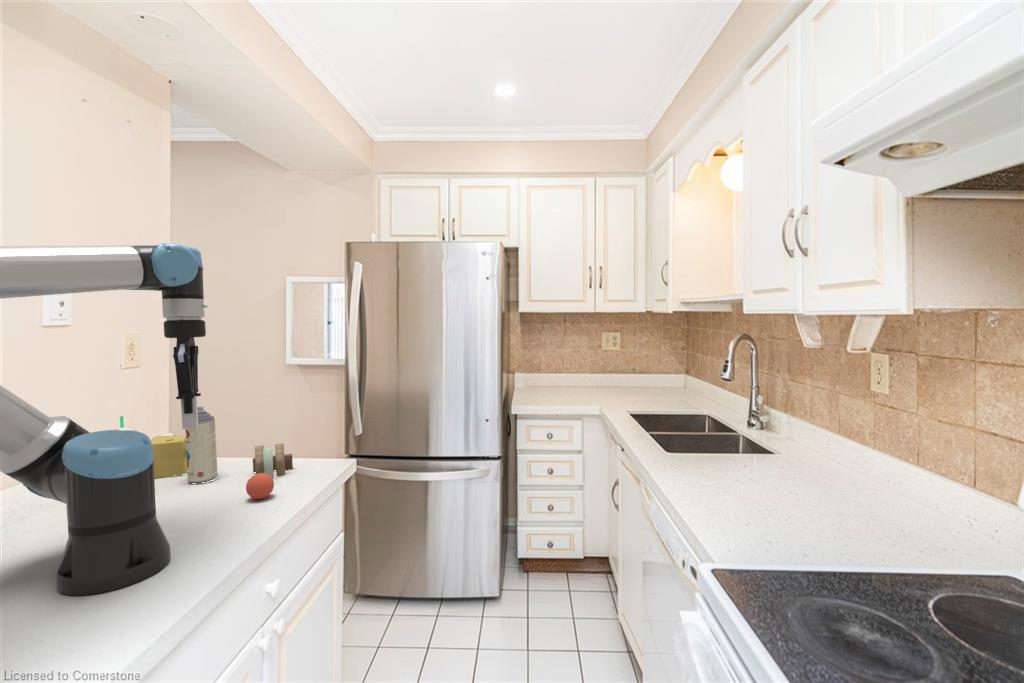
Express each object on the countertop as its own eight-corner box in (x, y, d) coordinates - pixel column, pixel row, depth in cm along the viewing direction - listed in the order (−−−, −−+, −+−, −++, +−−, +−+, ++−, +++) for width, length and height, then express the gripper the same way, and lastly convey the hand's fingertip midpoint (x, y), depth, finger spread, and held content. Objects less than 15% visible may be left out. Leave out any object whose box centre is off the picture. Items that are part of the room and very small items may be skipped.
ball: (272, 500, 117) (271, 475, 116) (244, 504, 115) (243, 479, 114) (275, 492, 122) (274, 468, 122) (248, 496, 120) (247, 471, 120)
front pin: (273, 480, 132) (271, 449, 132) (264, 481, 131) (262, 449, 131) (274, 478, 134) (272, 447, 134) (265, 479, 133) (263, 448, 133)
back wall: (292, 469, 142) (291, 455, 142) (253, 473, 139) (252, 459, 138) (292, 467, 144) (292, 453, 144) (254, 471, 141) (253, 457, 140)
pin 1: (264, 477, 135) (263, 446, 134) (255, 478, 134) (254, 447, 133) (265, 475, 137) (264, 445, 136) (256, 476, 136) (255, 445, 136)
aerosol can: (191, 478, 136) (187, 406, 135) (219, 474, 138) (216, 403, 137) (185, 486, 129) (181, 410, 128) (215, 482, 132) (211, 407, 131)
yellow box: (196, 465, 148) (194, 432, 148) (185, 476, 138) (183, 440, 138) (155, 470, 145) (153, 436, 145) (141, 481, 135) (138, 444, 134)
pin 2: (284, 475, 136) (283, 445, 136) (275, 476, 135) (274, 445, 135) (285, 473, 138) (284, 443, 138) (276, 474, 138) (275, 444, 137)
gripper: (199, 318, 102) (205, 431, 103) (209, 319, 114) (214, 420, 115) (155, 319, 99) (162, 435, 100) (170, 320, 111) (176, 424, 112)
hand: (190, 427), depth 108 cm, fingers closed
